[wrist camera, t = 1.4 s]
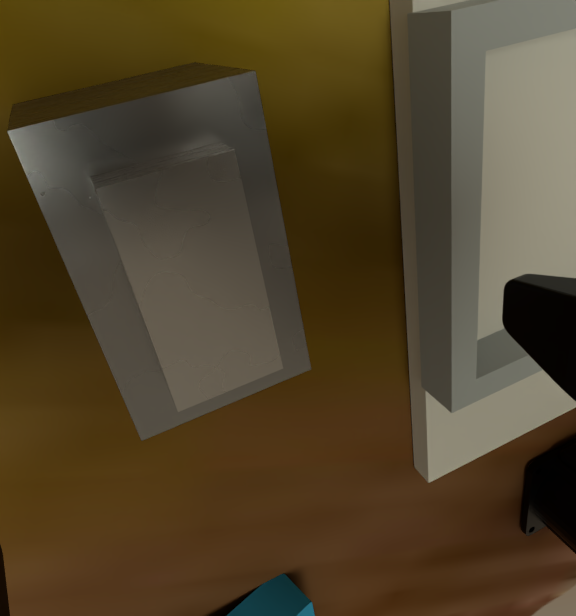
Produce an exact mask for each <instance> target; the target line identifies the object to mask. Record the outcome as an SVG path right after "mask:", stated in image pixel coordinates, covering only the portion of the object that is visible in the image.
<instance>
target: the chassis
mask: <svg viewBox="0 0 576 616" xmlns="http://www.w3.org/2000/svg"><path fill="white" fill-rule="evenodd" d="M390 18H391V37H392V56H393V75H394V94H395V113H396V132H397V151H398V170H399V189H400V208H401V227H402V246H403V265H404V283H405V302H406V321H407V340H408V359H409V378H410V397H411V416H412V435H413V454H414V467H415V469H416V470H417V471H418V472H419V473H420V474H421V475H422V476H423V477H424V478H425V480H426V481H427V482H428V483H430V482H432V481H434V480H435V479H437V478H439V477H441V476H443V475H445V474H447V473H449V472H451V471H453V470H455V469H457V468H459V467H461V466H463V465H465V464H467V463H469V462H470V461H472V460H474V459H476V458H478V457H480V456H482V455H484V454H486V453H488V452H490V451H492V450H494V449H496V448H498V447H500V446H502V445H503V444H505V443H507V442H509V441H511V440H513V439H515V438H517V437H519V436H521V435H523V434H525V433H527V432H529V431H531V430H533V429H535V428H537V427H538V426H540V425H542V424H544V423H546V422H548V421H550V420H552V419H554V418H556V417H558V416H560V415H562V414H564V413H566V412H568V411H570V410H572V409H573V408H575V407H576V401H575V400H573V399H572V398H571V397H570V396H569V395H568V394H567V393H566V392H565V391H563V390H562V389H561V388H560V387H559V386H558V385H557V384H556V383H555V382H554V381H553V380H552V379H551V377H550V376H549V375H548V374H547V373H546V372H545V371H544V370H543V369H542V368H541V367H540V366H539V365H538V364H537V363H536V362H535V361H534V360H533V359H532V358H531V357H530V356H529V355H528V354H527V353H526V352H525V350H524V349H523V348H522V347H521V346H520V345H519V344H518V343H517V342H516V341H515V340H514V339H513V338H512V337H511V336H510V335H509V334H508V333H507V331H506V330H505V328H504V326H503V322H502V311H503V293H504V286H505V284H506V283H507V282H508V281H509V280H511V279H513V278H516V277H518V276H521V275H523V274H539V275H549V276H559V277H569V278H576V0H390Z"/></svg>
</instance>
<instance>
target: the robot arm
mask: <svg viewBox="0 0 576 616" xmlns="http://www.w3.org/2000/svg"><path fill="white" fill-rule="evenodd" d="M502 322H503V326H504V328H505V330H506V331H507V333H508V334H509V335H510V336H511V337H512V338H513V339H514V340H515V341H516V342H517V343H518V344H519V345H520V346H521V347H522V348H523V349H524V350H525V352H526V353H527V354H528V355H529V356H530V357H531V358H532V359H533V360H534V361H535V362H536V363H537V364H538V365H539V366H540V367H541V368H542V369H543V370H544V371H545V372H546V373H547V374H548V375H549V376H550V377H551V379H552V380H553V381H554V382H555V383H556V384H557V385H558V386H559V387H560V388H561V389H562V390H563V391H565V392H566V393H567V394H568V395H569V396H570V397H571V398H572V399H573V400H575V401H576V278H569V277H559V276H549V275H539V274H523V275H521V276H518V277H516V278H513V279H511V280H509V281H508V282H507V283H506V284H505V286H504V293H503V311H502ZM545 526H547V527H548V528H549V529H550V530H551V531H552V532H553V533H554V534H555V535H556V536H557V537H558V538H559V539H561V540H562V541H563V542H564V543H565V544H566V545H567V546H568V547H569V548H570V549H571V550H572V551H573V552H574V553H575V554H576V439H574V440H573V441H571V442H569V443H567V444H565V445H563V446H561V447H559V448H558V449H556V450H554V451H552V452H550V453H548V454H546V455H545V456H543V457H541V458H539V459H537V460H535V461H534V462H532V463H531V464H530V465H529V467H528V469H527V477H526V486H525V496H524V506H523V515H522V525H521V530H522V531H523V532H524V533H525V534H526V535H527V536H529V535H531V534H533V533H535V532H537V531H538V530H540V529H542V528H543V527H545ZM0 616H10V612H9V603H8V595H7V586H6V577H5V569H4V560H3V553H2V548H1V545H0Z"/></svg>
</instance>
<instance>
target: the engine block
mask: <svg viewBox="0 0 576 616" xmlns="http://www.w3.org/2000/svg"><path fill="white" fill-rule="evenodd" d="M7 132H8V134H9V137H10V139H11V141H12V144H13V146H14V148H15V150H16V153H17V155H18V157H19V160H20V162H21V164H22V167H23V169H24V171H25V174H26V176H27V178H28V180H29V183H30V185H31V187H32V190H33V192H34V194H35V197H36V199H37V201H38V203H39V206H40V208H41V210H42V213H43V215H44V217H45V220H46V222H47V224H48V226H49V229H50V231H51V233H52V236H53V238H54V240H55V243H56V245H57V247H58V249H59V252H60V254H61V256H62V259H63V261H64V263H65V266H66V268H67V270H68V273H69V275H70V277H71V279H72V282H73V284H74V286H75V289H76V291H77V293H78V296H79V298H80V300H81V302H82V305H83V307H84V309H85V312H86V314H87V316H88V319H89V321H90V323H91V325H92V328H93V330H94V332H95V335H96V337H97V339H98V342H99V344H100V346H101V348H102V351H103V353H104V355H105V358H106V360H107V362H108V365H109V367H110V369H111V372H112V374H113V376H114V378H115V381H116V383H117V385H118V388H119V390H120V392H121V395H122V397H123V399H124V401H125V404H126V406H127V408H128V411H129V413H130V415H131V418H132V420H133V422H134V424H135V427H136V429H137V431H138V434H139V436H140V438H141V441H143V440H145V439H147V438H150V437H152V436H154V435H157V434H159V433H162V432H164V431H166V430H169V429H171V428H173V427H176V426H178V425H180V424H183V423H185V422H188V421H190V420H192V419H195V418H197V417H199V416H202V415H204V414H206V413H209V412H211V411H214V410H216V409H218V408H221V407H223V406H225V405H228V404H230V403H232V402H235V401H237V400H240V399H242V398H244V397H247V396H249V395H251V394H254V393H256V392H258V391H261V390H263V389H266V388H268V387H270V386H273V385H275V384H277V383H280V382H282V381H284V380H287V379H289V378H292V377H294V376H296V375H299V374H301V373H303V372H306V371H308V370H311V366H310V360H309V355H308V349H307V344H306V339H305V333H304V328H303V323H302V317H301V312H300V307H299V301H298V296H297V291H296V285H295V280H294V275H293V269H292V264H291V258H290V253H289V248H288V242H287V237H286V232H285V226H284V221H283V216H282V210H281V205H280V200H279V194H278V189H277V184H276V178H275V173H274V168H273V162H272V157H271V151H270V146H269V141H268V135H267V130H266V125H265V119H264V114H263V109H262V103H261V98H260V93H259V87H258V82H257V77H256V71H254V70H247V69H240V68H232V67H225V66H218V65H211V64H203V63H196V62H194V63H190V64H186V65H181V66H177V67H173V68H168V69H164V70H160V71H155V72H151V73H147V74H142V75H138V76H134V77H130V78H125V79H121V80H117V81H112V82H108V83H104V84H99V85H95V86H91V87H86V88H82V89H78V90H73V91H69V92H65V93H60V94H56V95H52V96H47V97H43V98H39V99H34V100H30V101H26V102H21V103H17V104H13V105H12V110H11V115H10V119H9V124H8V129H7Z"/></svg>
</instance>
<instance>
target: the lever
mask: <svg viewBox="0 0 576 616" xmlns="http://www.w3.org/2000/svg"><path fill="white" fill-rule="evenodd" d="M227 616H315V614H314V610H313V605H312V602H311V601H310V600H309V599H308V598H307V597H306V596H305V595H304V594H303V592H302V591H301V590H300V589H299V588H298V587H297V586H296V585H295V584H294V583H293V582H292V581H291V580H290V579H289V578H288V577H287V576H286V575H285V574H281V575H279V576H277V577H275V578H273V579H271V580H269V581H268V582H266V583H264V584H262V585H261V586H260V587H258V588H257V589H256V590H255V591H254V592H253V593H252V594H250V595H249V596H248V597H247V598H246V599H245V600H244V601H242V602H241V603H240V604H239V605H238V606H237V607H236V608H234V609H233V610H232V611H231V612H230V613H229V614H228V615H227Z"/></svg>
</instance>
